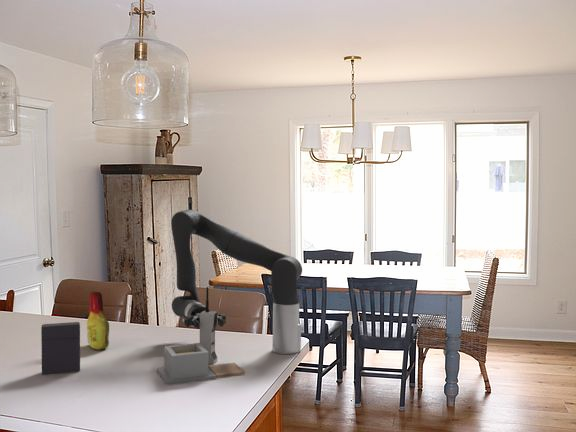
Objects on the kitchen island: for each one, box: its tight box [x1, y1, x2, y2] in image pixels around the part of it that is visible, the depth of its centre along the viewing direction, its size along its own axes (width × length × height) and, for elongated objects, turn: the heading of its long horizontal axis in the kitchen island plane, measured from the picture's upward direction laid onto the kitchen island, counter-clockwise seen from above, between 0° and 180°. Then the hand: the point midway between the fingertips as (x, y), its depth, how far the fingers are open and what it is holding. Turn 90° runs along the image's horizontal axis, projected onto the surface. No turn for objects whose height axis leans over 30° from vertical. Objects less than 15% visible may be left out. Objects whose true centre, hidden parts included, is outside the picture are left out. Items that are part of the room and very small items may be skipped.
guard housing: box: [156, 342, 217, 386], centre depth 177 cm, size 15×14×8 cm
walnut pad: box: [208, 362, 246, 379], centre depth 181 cm, size 9×10×1 cm
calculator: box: [40, 321, 81, 376], centre depth 178 cm, size 11×4×15 cm, turn 111°
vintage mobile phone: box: [199, 286, 219, 365], centre depth 190 cm, size 4×5×25 cm
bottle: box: [86, 291, 110, 351], centre depth 205 cm, size 12×6×20 cm, turn 39°
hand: (210, 324), depth 188 cm, fingers open, 7 cm apart
